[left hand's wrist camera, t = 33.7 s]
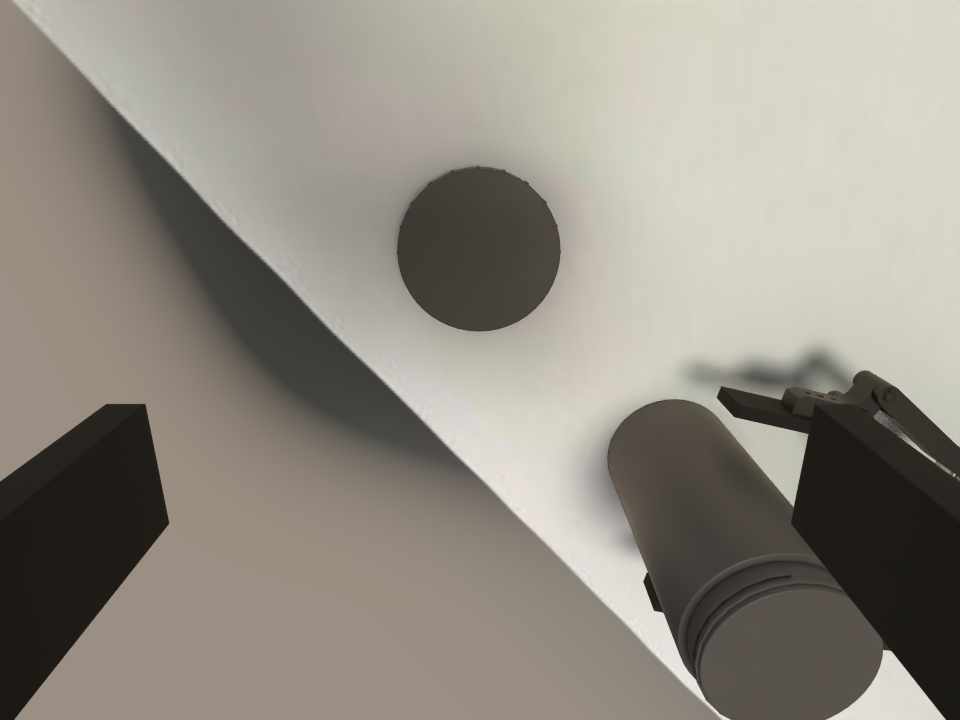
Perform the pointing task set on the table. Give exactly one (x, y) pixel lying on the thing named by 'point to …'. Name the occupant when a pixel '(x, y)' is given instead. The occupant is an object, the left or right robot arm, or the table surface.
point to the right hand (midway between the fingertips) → (685, 501)
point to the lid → (478, 249)
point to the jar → (737, 572)
